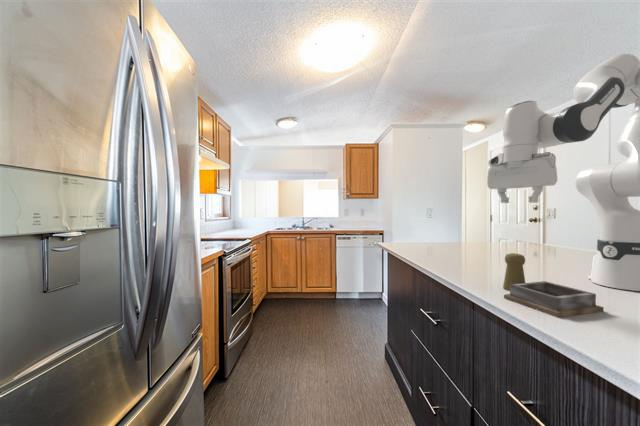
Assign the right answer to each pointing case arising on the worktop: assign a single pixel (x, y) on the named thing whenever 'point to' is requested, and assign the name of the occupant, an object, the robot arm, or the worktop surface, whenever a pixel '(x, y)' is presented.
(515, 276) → the cork
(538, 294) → the grey-rimmed square tray
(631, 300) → the worktop surface
